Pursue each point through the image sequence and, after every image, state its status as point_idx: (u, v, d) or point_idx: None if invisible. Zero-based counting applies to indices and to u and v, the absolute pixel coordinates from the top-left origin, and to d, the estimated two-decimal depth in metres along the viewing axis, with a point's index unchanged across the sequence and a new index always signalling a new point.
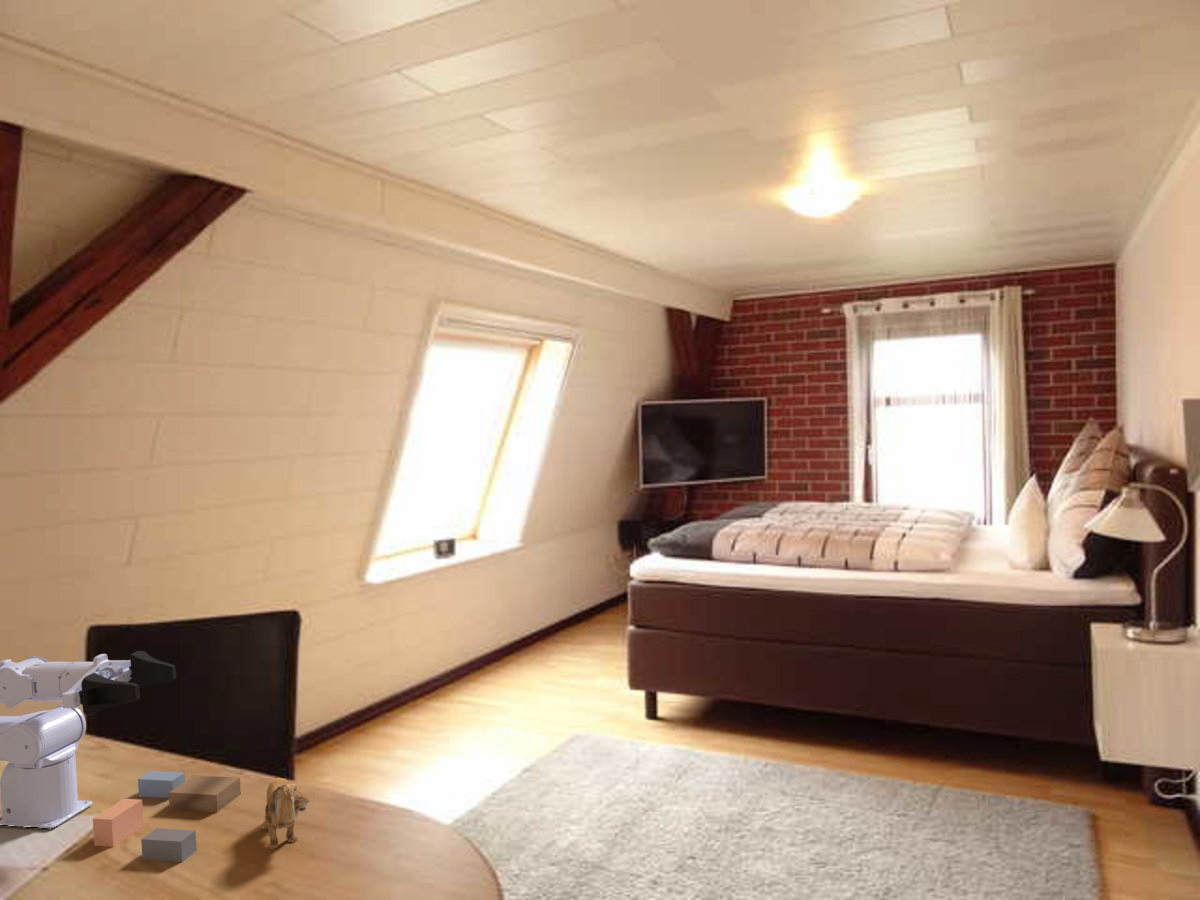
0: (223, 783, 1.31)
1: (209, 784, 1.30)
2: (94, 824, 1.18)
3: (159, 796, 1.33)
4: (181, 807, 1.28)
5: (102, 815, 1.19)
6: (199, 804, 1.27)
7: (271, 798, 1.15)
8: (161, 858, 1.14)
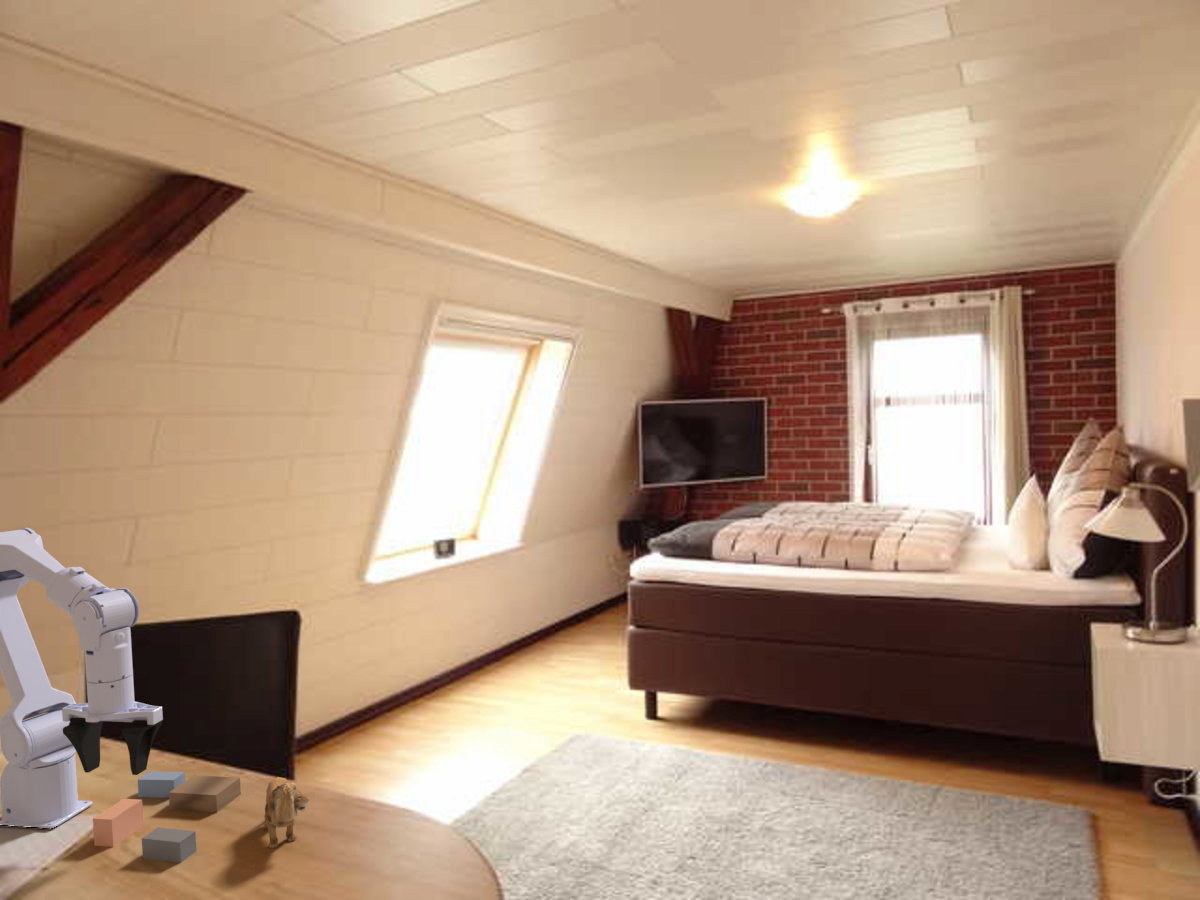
0: (223, 783, 1.31)
1: (209, 784, 1.30)
2: (94, 824, 1.18)
3: (160, 796, 1.33)
4: (181, 807, 1.28)
5: (102, 815, 1.19)
6: (199, 804, 1.27)
7: (271, 797, 1.15)
8: (161, 858, 1.14)
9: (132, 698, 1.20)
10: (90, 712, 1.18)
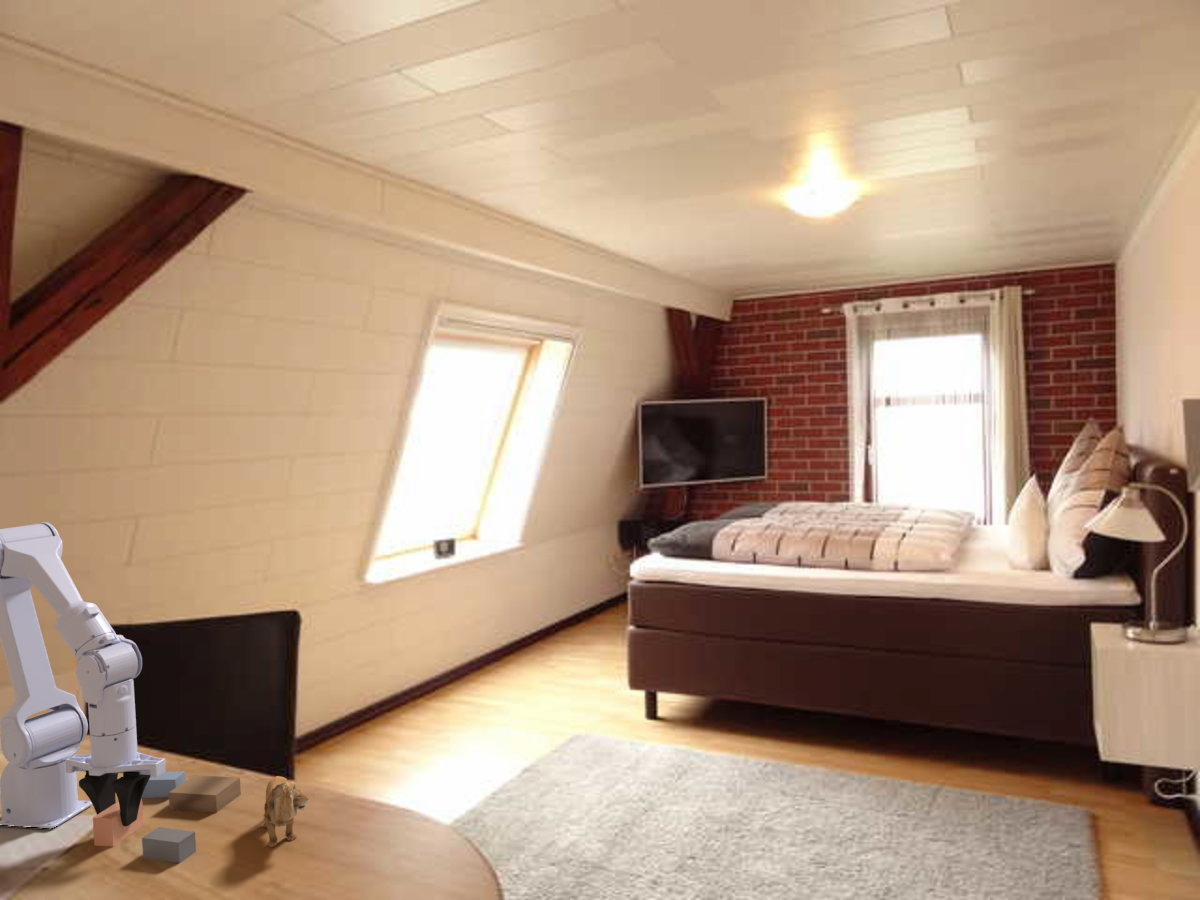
0: (223, 783, 1.31)
1: (209, 784, 1.30)
2: (94, 823, 1.18)
3: (161, 796, 1.33)
4: (181, 807, 1.28)
5: (102, 814, 1.19)
6: (199, 804, 1.27)
7: (270, 796, 1.15)
8: (160, 858, 1.14)
9: (135, 750, 1.21)
10: (93, 765, 1.18)
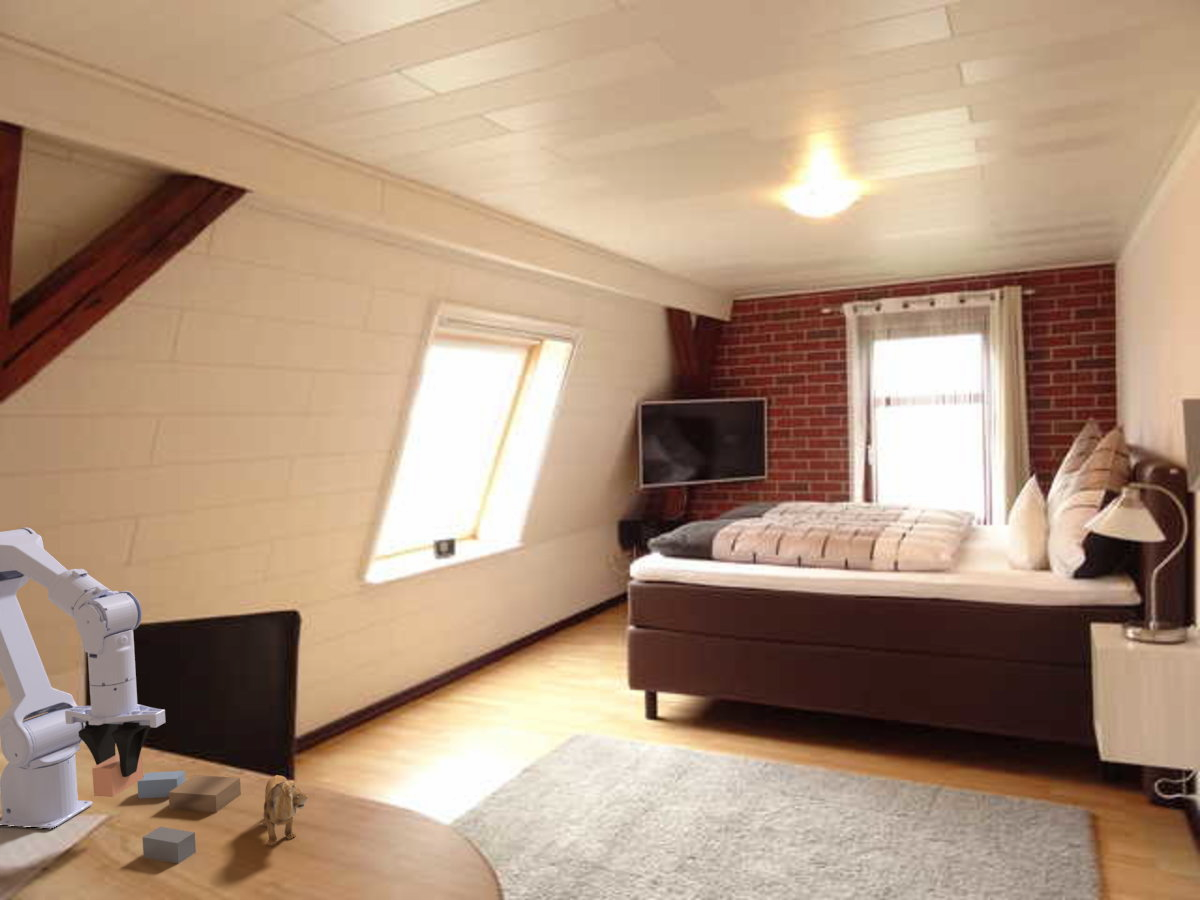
0: (223, 783, 1.31)
1: (209, 785, 1.30)
2: (94, 773, 1.18)
3: (162, 795, 1.33)
4: (181, 807, 1.28)
5: (102, 765, 1.19)
6: (199, 804, 1.27)
7: (269, 795, 1.16)
8: (160, 858, 1.14)
9: (135, 701, 1.20)
10: (93, 715, 1.18)
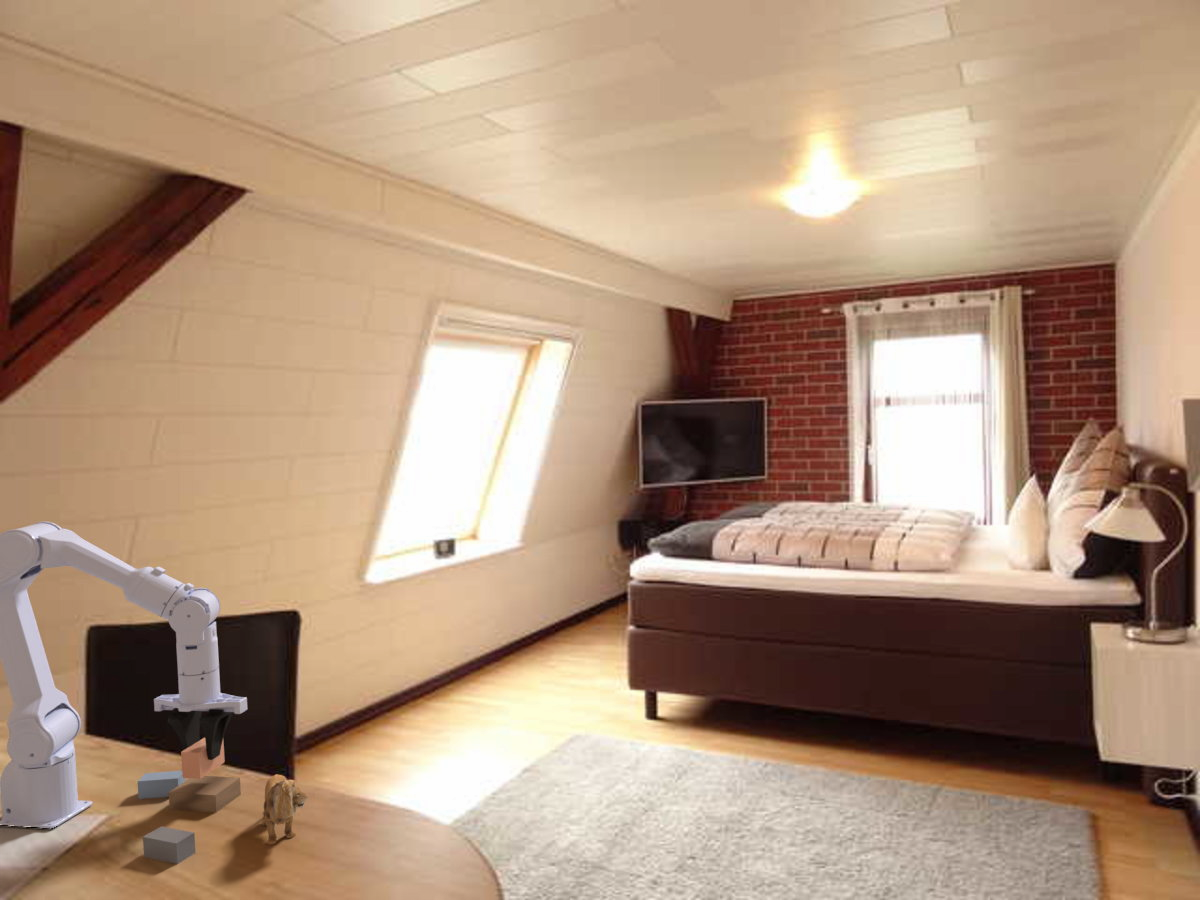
0: (222, 783, 1.31)
1: (209, 785, 1.30)
2: (182, 757, 1.27)
3: (162, 795, 1.33)
4: (181, 807, 1.28)
5: (189, 749, 1.28)
6: (199, 804, 1.27)
7: (269, 794, 1.16)
8: (159, 858, 1.14)
9: (219, 689, 1.30)
10: (182, 702, 1.27)
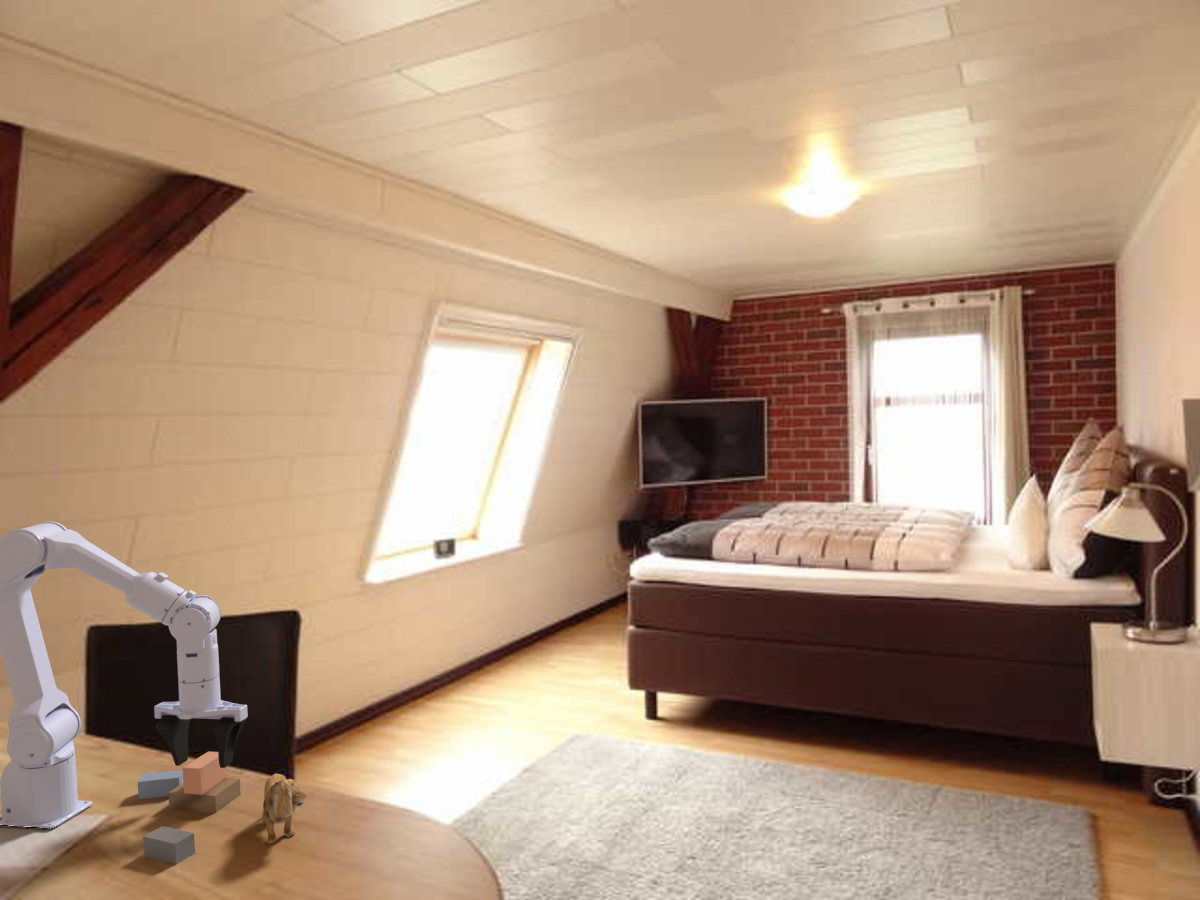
0: (222, 784, 1.31)
1: None
2: (184, 773, 1.28)
3: (163, 795, 1.33)
4: (181, 807, 1.28)
5: (191, 765, 1.28)
6: (198, 804, 1.27)
7: (269, 793, 1.16)
8: (159, 858, 1.14)
9: (219, 697, 1.30)
10: (182, 710, 1.27)
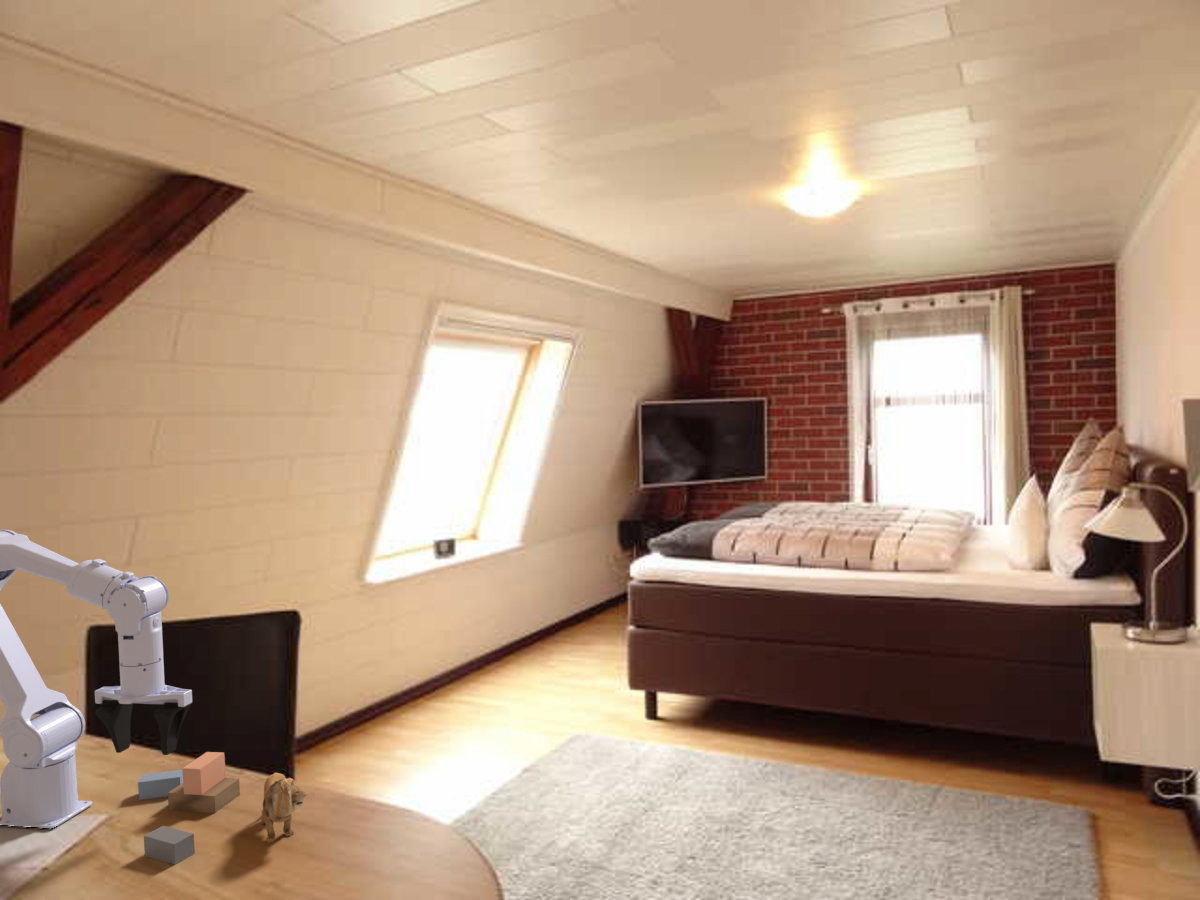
0: (222, 784, 1.31)
1: None
2: (183, 773, 1.27)
3: (164, 795, 1.33)
4: (180, 807, 1.28)
5: (191, 766, 1.28)
6: (198, 804, 1.27)
7: (268, 792, 1.17)
8: (159, 857, 1.14)
9: (163, 681, 1.25)
10: (123, 694, 1.22)
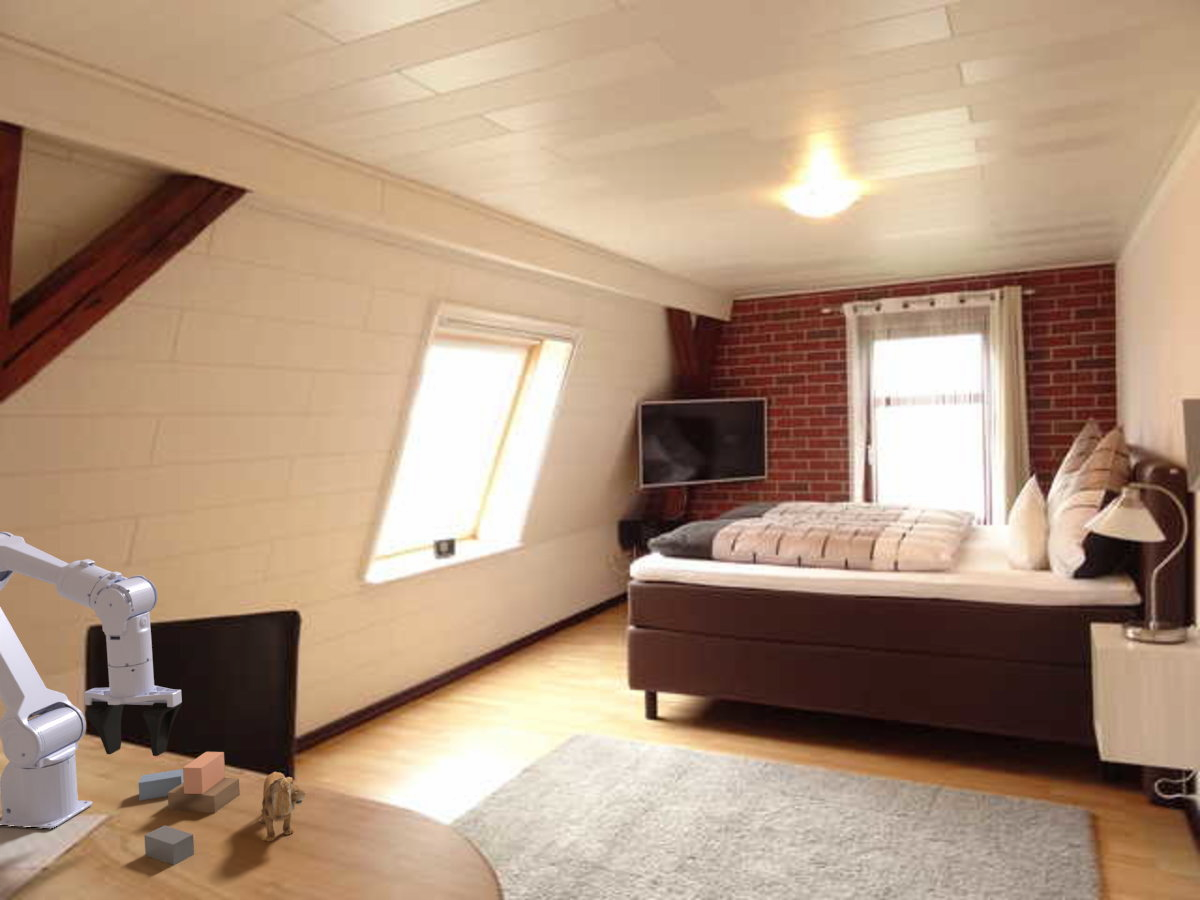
0: (221, 784, 1.31)
1: None
2: (184, 773, 1.28)
3: (165, 795, 1.33)
4: (180, 807, 1.28)
5: (191, 765, 1.28)
6: (197, 804, 1.27)
7: (268, 791, 1.17)
8: (159, 857, 1.14)
9: (152, 682, 1.24)
10: (112, 695, 1.21)
